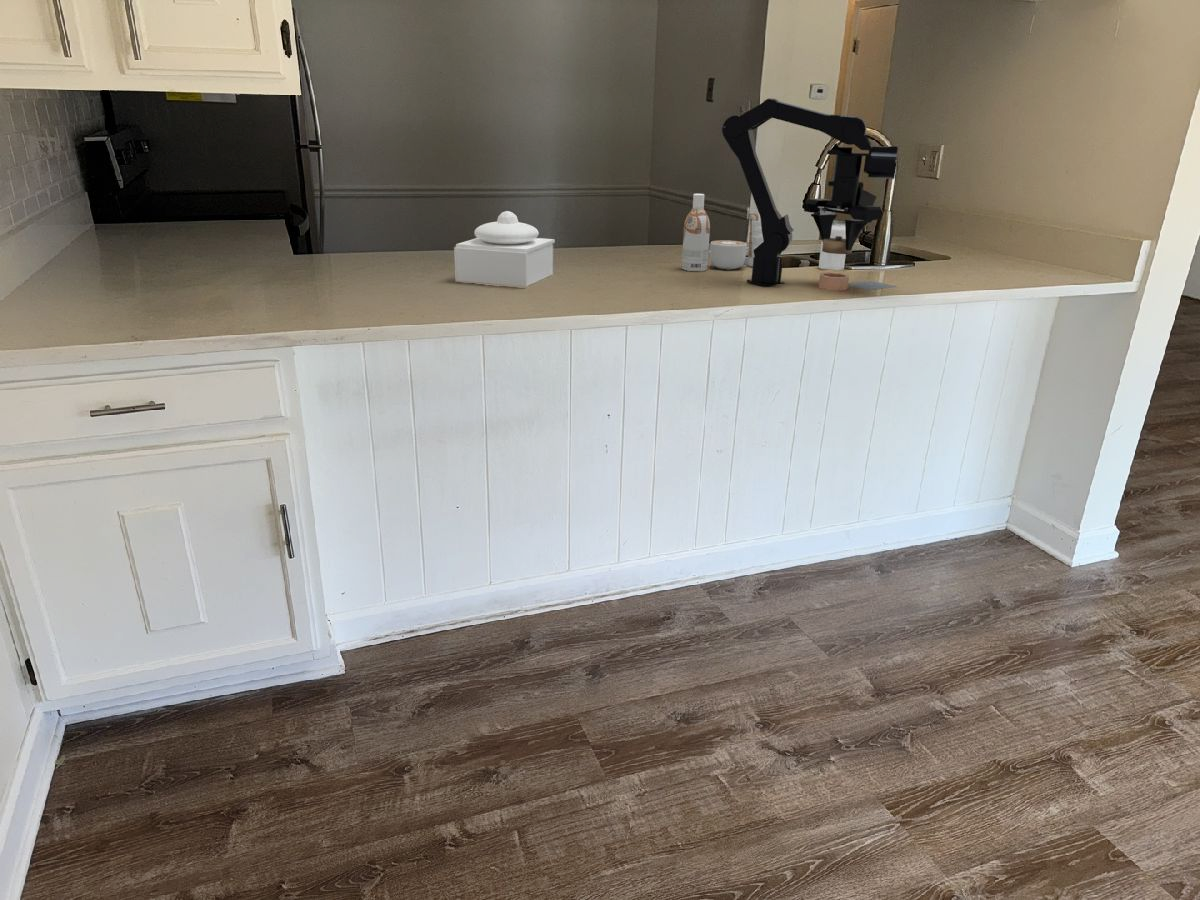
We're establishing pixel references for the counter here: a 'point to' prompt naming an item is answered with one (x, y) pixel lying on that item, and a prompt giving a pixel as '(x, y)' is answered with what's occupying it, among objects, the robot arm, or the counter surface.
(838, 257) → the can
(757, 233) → the cosmetic set
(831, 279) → the bowl
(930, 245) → the counter surface
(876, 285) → the mat
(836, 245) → the lid
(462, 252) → the white lidded container
